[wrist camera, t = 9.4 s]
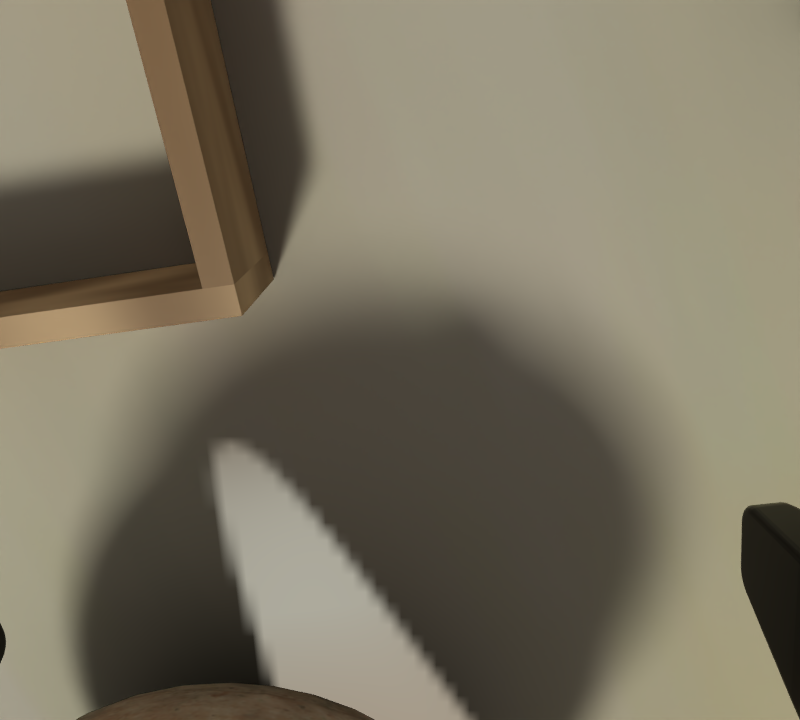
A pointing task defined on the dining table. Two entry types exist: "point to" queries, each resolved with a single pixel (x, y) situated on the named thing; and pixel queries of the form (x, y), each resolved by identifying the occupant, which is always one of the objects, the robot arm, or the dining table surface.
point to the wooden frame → (197, 191)
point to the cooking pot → (225, 705)
